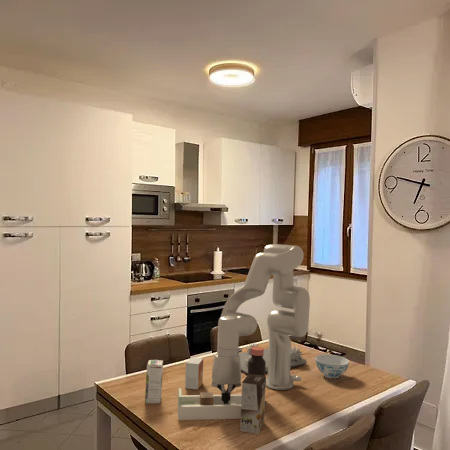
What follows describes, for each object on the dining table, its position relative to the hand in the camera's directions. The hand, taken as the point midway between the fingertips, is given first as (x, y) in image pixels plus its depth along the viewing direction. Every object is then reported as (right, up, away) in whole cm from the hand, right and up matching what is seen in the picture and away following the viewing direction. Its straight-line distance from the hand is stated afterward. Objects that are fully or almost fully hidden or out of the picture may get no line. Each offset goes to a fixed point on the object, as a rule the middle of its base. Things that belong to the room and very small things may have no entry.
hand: (225, 402), depth 152 cm
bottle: (+12, -4, +12) cm, 17 cm away
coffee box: (+9, -4, -10) cm, 14 cm away
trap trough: (-3, -4, 0) cm, 5 cm away
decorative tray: (+19, -5, +56) cm, 60 cm away
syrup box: (-27, -3, +8) cm, 29 cm away
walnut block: (-7, -1, -1) cm, 7 cm away
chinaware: (+48, -6, +41) cm, 63 cm away
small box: (-13, -3, +24) cm, 28 cm away
